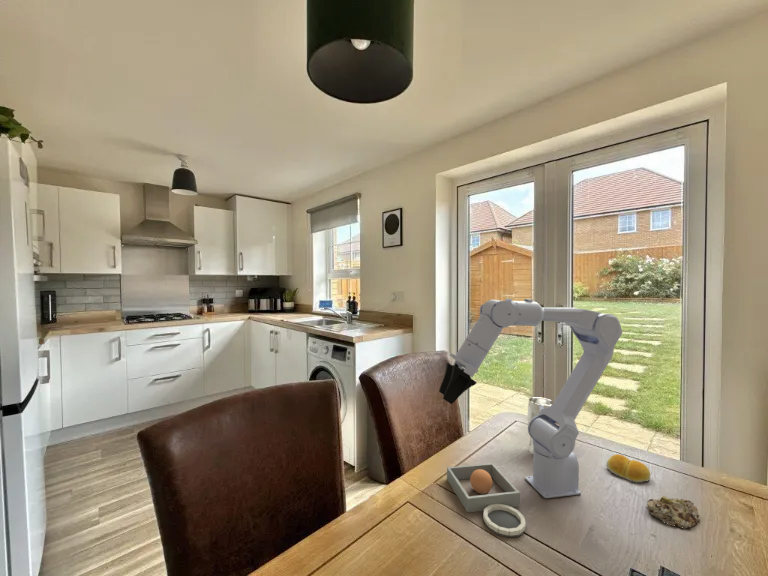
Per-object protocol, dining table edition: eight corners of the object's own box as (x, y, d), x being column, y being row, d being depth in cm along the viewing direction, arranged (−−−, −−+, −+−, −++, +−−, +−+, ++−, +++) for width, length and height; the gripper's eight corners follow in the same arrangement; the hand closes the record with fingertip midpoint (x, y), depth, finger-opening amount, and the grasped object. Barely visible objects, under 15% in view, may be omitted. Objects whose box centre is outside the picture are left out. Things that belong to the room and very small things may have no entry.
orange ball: (486, 484, 83) (486, 464, 83) (496, 497, 78) (496, 475, 78) (466, 486, 82) (466, 465, 82) (475, 499, 77) (476, 478, 77)
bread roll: (646, 488, 82) (646, 472, 82) (603, 472, 89) (603, 457, 89) (654, 475, 88) (654, 460, 87) (613, 461, 94) (614, 446, 94)
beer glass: (558, 459, 95) (559, 405, 94) (532, 458, 95) (534, 405, 94) (546, 446, 102) (547, 396, 101) (523, 446, 102) (524, 396, 101)
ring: (511, 507, 75) (511, 502, 75) (533, 534, 67) (533, 528, 67) (476, 511, 73) (477, 506, 73) (495, 539, 65) (495, 533, 65)
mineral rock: (674, 523, 67) (639, 488, 75) (667, 539, 68) (633, 504, 76) (719, 518, 69) (680, 485, 77) (711, 535, 70) (674, 500, 78)
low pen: (492, 474, 87) (492, 462, 87) (519, 506, 75) (520, 492, 75) (446, 479, 85) (447, 467, 85) (467, 512, 73) (467, 498, 73)
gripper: (456, 335, 86) (427, 382, 85) (467, 337, 71) (432, 394, 70) (480, 351, 85) (451, 398, 84) (497, 356, 70) (462, 413, 70)
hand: (444, 397), depth 77 cm, fingers open, 7 cm apart
